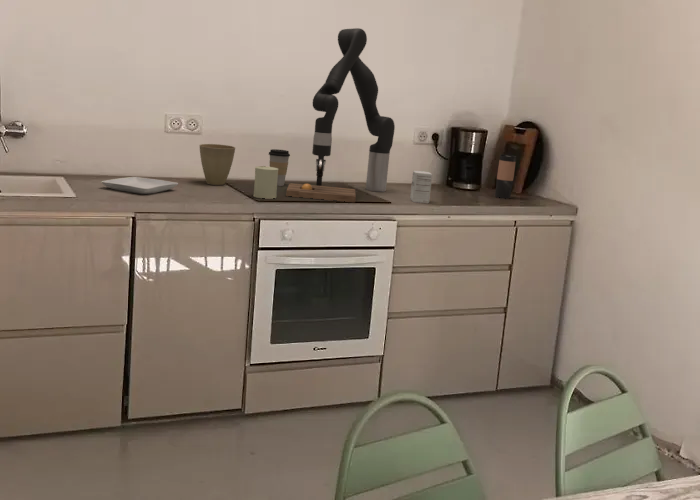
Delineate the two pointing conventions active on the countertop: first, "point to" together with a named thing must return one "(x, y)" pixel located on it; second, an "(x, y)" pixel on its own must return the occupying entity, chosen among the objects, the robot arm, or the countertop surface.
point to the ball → (307, 186)
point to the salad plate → (139, 185)
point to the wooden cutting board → (322, 193)
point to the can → (265, 182)
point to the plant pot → (216, 162)
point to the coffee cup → (279, 163)
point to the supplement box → (421, 186)
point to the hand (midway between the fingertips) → (318, 185)
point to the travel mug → (505, 176)
